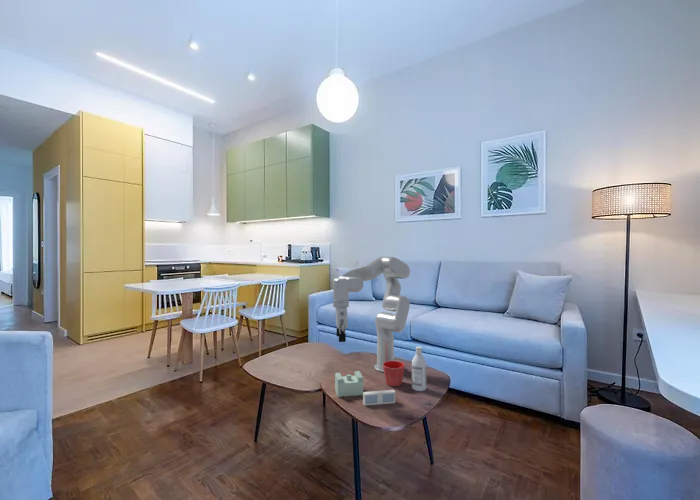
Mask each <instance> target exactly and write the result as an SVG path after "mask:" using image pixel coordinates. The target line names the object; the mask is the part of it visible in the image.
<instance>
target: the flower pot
mask: <svg viewBox="0 0 700 500" xmlns="http://www.w3.org/2000/svg"><path fill="white" fill-rule="evenodd" d="M399 361H400V360H398V361H396V360H395V361H387V362H385V363H383V368H384V372H383V373H384V379H385V384H386V385H387V386H389V387H400V386H402V384H403V378H404V375H405V373H404V372H405V365H406V364H405V363H404V362H403V361H402V362H399Z"/></svg>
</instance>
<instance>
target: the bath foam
mask: <svg viewBox="0 0 700 500" xmlns="http://www.w3.org/2000/svg"><path fill="white" fill-rule="evenodd" d="M411 389H412V390H413V391H417V392H424V391H426V390H427V361H426V359H425V358H424V356H423V348H422V346H416V347H415V355H414V356H413V358H412V360H411Z"/></svg>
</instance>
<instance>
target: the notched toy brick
mask: <svg viewBox="0 0 700 500" xmlns="http://www.w3.org/2000/svg"><path fill="white" fill-rule="evenodd" d="M334 390H335V393H336V397H337V398H340V397H341V398H342V397H343V396H344V397H352V396H353V397H354V396H363V392H364V376H363V375H362V373H361V371H359V370H357V371H354V375H352V374H346V375H345V376H342V374H341V372H335V374H334Z"/></svg>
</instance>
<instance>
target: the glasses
mask: <svg viewBox="0 0 700 500" xmlns="http://www.w3.org/2000/svg"><path fill="white" fill-rule="evenodd" d="M362 404H363V406H377V405H387V404H388V405H389V404H396V391H395V390H394V389H386V390H385V389H384V390H372V391H363V395H362Z"/></svg>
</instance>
